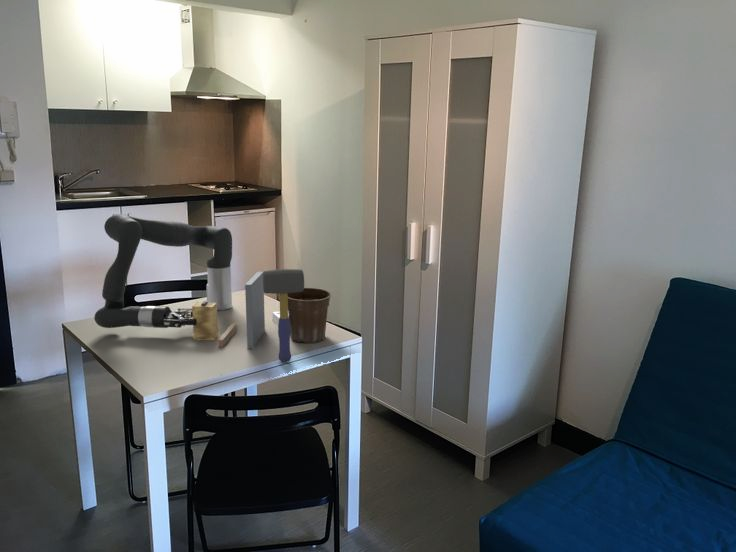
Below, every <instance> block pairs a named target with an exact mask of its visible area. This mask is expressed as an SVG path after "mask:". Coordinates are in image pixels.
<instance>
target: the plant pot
mask: <svg viewBox="0 0 736 552" xmlns="http://www.w3.org/2000/svg"><path fill="white" fill-rule="evenodd" d="M331 297H332V292H331V291H329V290H326V289H322V288H317V287H304V290H303V291H302V292H294V293H288V314H289V322H290V339H292V340H293V341H295V342H297V343H301V342H303V343H305V344H310V343H311V344H312V343H313V342H314V343H318V342H321V341H323V340H324V339H325V338H326V330H327V322H328V321H327V319H328V310H329V307H330V301H331V300H330V299H331ZM314 343H313V344H314Z"/></svg>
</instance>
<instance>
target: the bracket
mask: <svg viewBox="0 0 736 552" xmlns="http://www.w3.org/2000/svg"><path fill="white" fill-rule="evenodd" d="M271 314H272V316H271V317H272V318H271V319H272V320H271V321H273V322H274V324H276V325H277V326H278V324H279V318H280V310H279V311H272V313H271ZM288 318H289V314H288Z"/></svg>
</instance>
